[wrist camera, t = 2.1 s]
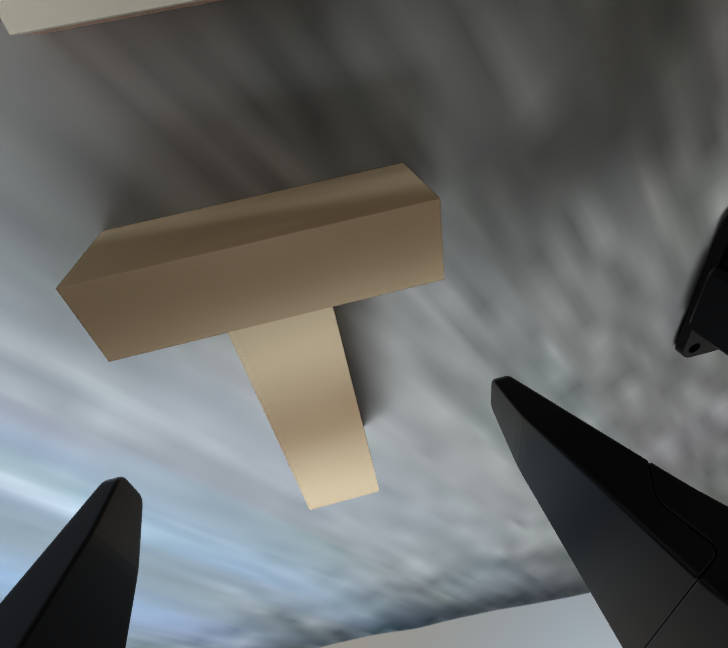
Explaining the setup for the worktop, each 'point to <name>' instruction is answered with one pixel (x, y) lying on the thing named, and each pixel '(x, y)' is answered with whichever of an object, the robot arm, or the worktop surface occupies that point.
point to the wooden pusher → (271, 300)
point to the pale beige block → (77, 12)
